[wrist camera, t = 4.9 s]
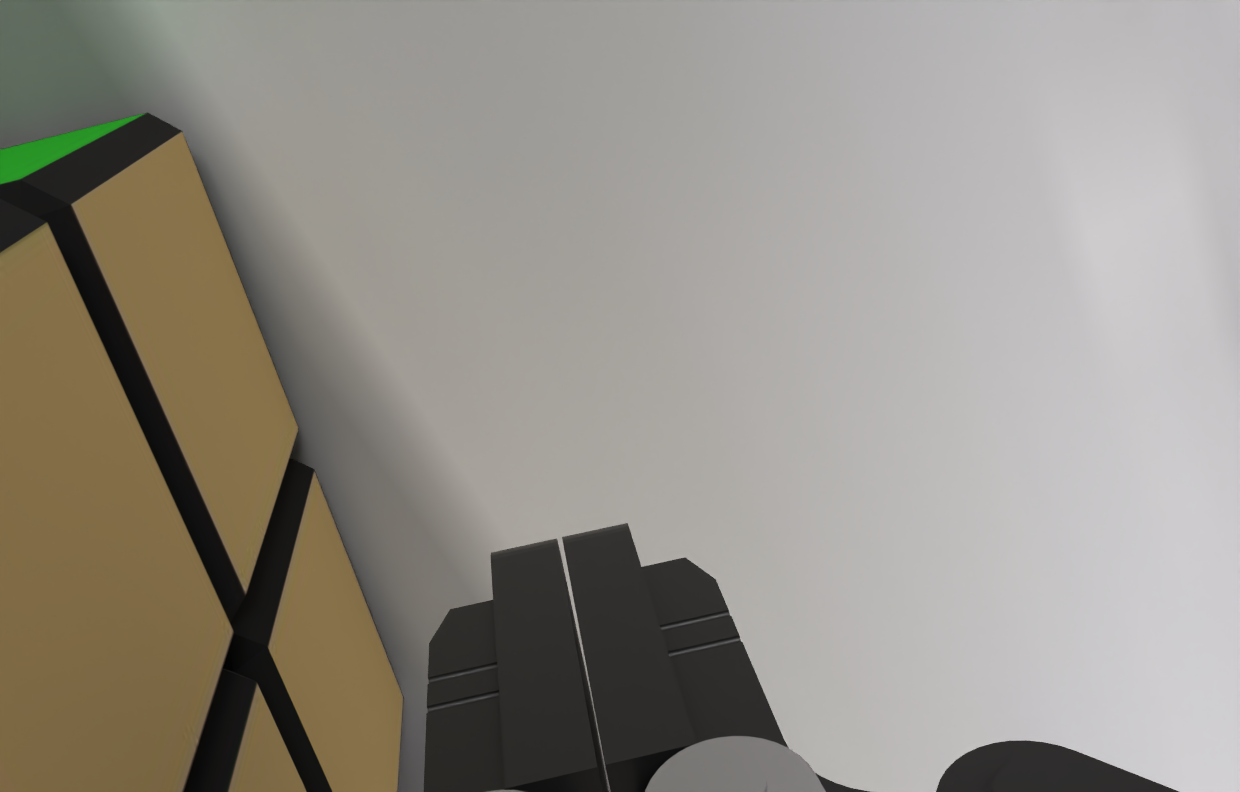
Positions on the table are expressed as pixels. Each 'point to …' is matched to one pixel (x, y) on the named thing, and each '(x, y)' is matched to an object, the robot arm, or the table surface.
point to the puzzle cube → (162, 504)
